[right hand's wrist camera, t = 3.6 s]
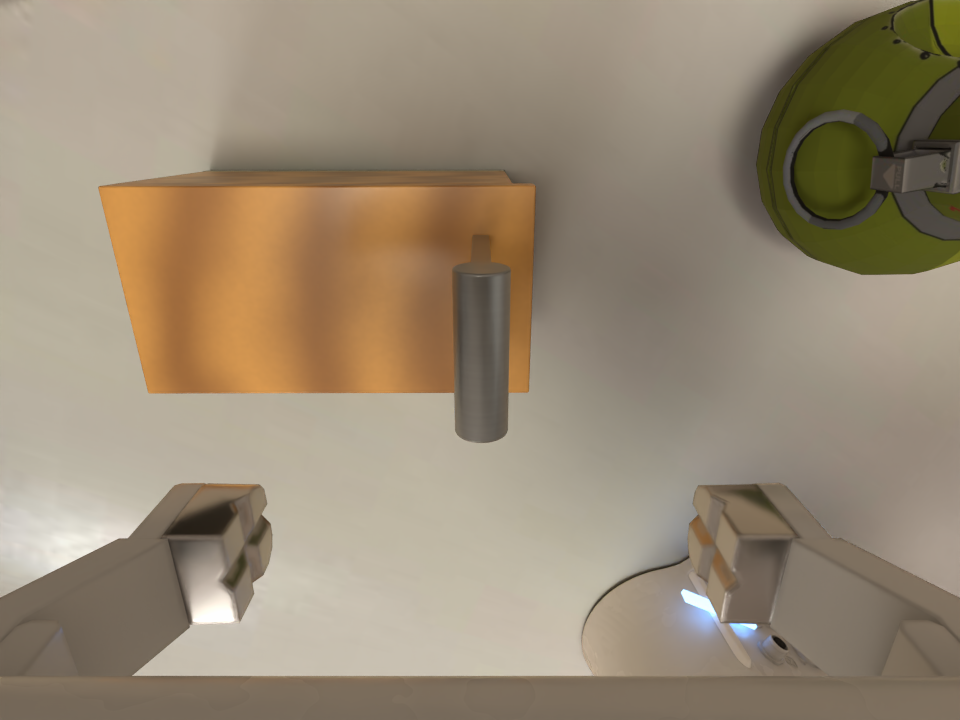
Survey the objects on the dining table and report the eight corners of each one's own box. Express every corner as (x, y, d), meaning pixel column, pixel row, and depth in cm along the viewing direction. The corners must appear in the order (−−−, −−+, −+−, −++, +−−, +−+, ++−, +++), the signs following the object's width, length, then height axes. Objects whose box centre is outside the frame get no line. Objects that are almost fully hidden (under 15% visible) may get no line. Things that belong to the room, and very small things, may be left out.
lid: (533, 183, 24) (562, 209, 16) (527, 383, 28) (547, 490, 19) (112, 184, 24) (-79, 210, 16) (159, 384, 28) (23, 492, 19)
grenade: (948, 3, 29) (1369, -115, 15) (921, 231, 34) (1230, 300, 20) (712, 48, 30) (912, -25, 16) (716, 265, 35) (876, 355, 21)
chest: (504, 170, 33) (513, 182, 24) (502, 324, 36) (509, 383, 28) (208, 170, 33) (113, 183, 24) (235, 325, 36) (160, 384, 28)
